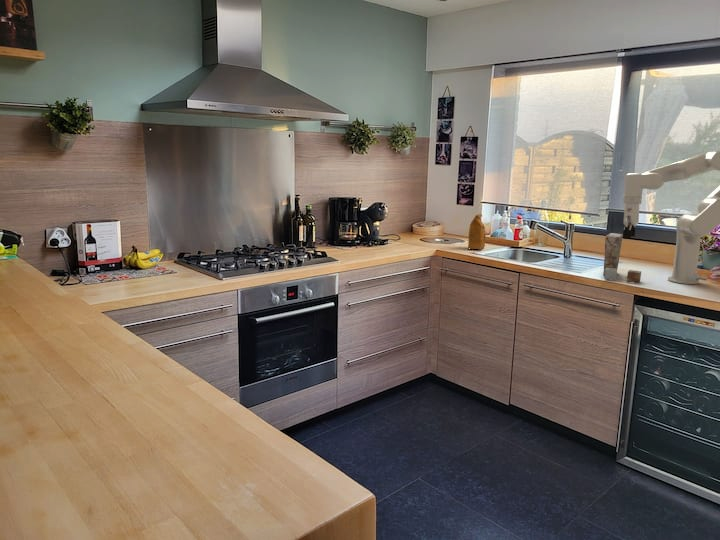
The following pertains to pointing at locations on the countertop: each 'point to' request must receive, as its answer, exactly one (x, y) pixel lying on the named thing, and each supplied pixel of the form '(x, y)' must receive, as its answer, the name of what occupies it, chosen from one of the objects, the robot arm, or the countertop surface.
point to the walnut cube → (633, 276)
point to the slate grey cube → (610, 273)
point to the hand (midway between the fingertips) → (628, 237)
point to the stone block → (612, 250)
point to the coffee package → (477, 234)
